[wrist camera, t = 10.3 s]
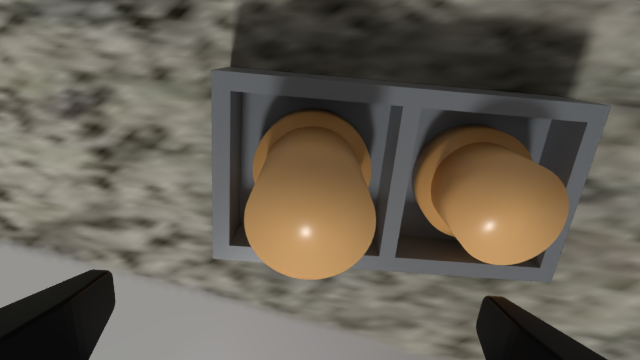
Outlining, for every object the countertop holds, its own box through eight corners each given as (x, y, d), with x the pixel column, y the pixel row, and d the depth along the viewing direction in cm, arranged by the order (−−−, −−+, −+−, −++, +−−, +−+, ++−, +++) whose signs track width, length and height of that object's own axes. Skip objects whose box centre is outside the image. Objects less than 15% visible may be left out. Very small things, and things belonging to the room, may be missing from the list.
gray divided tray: (561, 96, 19) (662, 115, 14) (516, 248, 22) (583, 314, 17) (230, 66, 19) (192, 73, 13) (228, 227, 22) (197, 288, 16)
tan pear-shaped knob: (374, 112, 19) (405, 149, 12) (360, 216, 21) (380, 297, 14) (258, 103, 18) (226, 136, 12) (256, 209, 20) (227, 288, 14)
